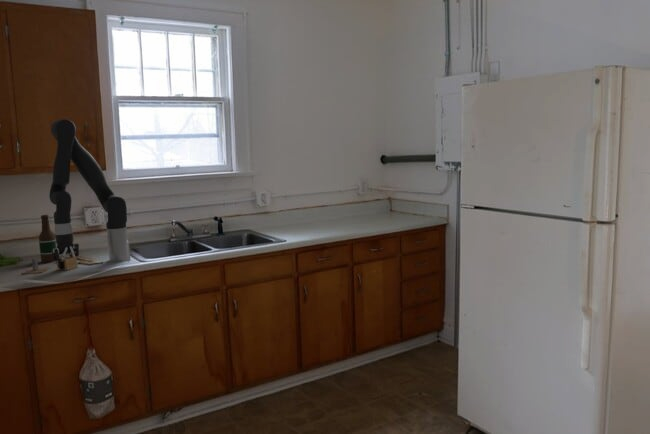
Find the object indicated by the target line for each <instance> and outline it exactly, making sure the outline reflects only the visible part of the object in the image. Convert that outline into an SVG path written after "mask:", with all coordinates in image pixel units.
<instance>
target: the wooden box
mask: <svg viewBox="0 0 650 434" xmlns="http://www.w3.org/2000/svg"><path fill="white" fill-rule="evenodd" d="M31 264H32V268H31V267H30V268H27V269H26V270H25V271H22V272H21V275H30V274H31V275H33V274H34V275H35V274H44V273H45V272H47V271H48V270H49V269H50V267H39V265H38V258H37V257H34V258H33V257H32V258H31Z"/></svg>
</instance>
